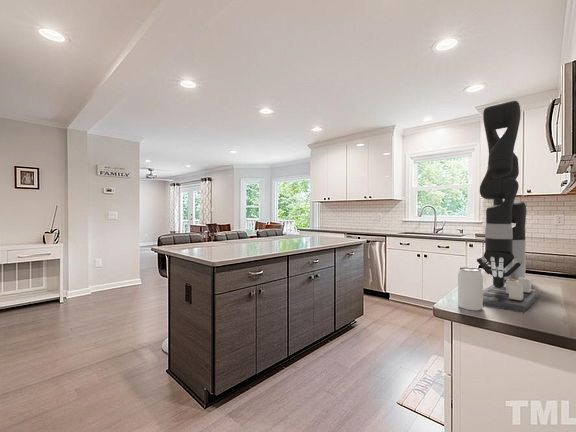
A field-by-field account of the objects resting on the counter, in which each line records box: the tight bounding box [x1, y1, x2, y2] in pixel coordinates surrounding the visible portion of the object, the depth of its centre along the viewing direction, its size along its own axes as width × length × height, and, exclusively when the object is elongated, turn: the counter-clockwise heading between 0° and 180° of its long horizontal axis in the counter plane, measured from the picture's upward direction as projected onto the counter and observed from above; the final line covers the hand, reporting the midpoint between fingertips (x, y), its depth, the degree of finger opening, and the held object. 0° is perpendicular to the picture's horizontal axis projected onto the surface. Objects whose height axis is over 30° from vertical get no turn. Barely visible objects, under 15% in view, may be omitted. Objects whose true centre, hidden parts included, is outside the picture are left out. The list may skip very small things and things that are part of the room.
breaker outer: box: [509, 283, 523, 300], centre depth 90 cm, size 3×3×4 cm
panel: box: [483, 284, 540, 314], centre depth 97 cm, size 24×13×2 cm, turn 131°
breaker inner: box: [518, 277, 532, 293], centre depth 98 cm, size 3×3×4 cm
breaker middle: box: [505, 279, 520, 294], centre depth 96 cm, size 3×3×4 cm
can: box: [457, 266, 484, 312], centre depth 89 cm, size 6×6×12 cm
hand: (498, 287), depth 99 cm, fingers closed
